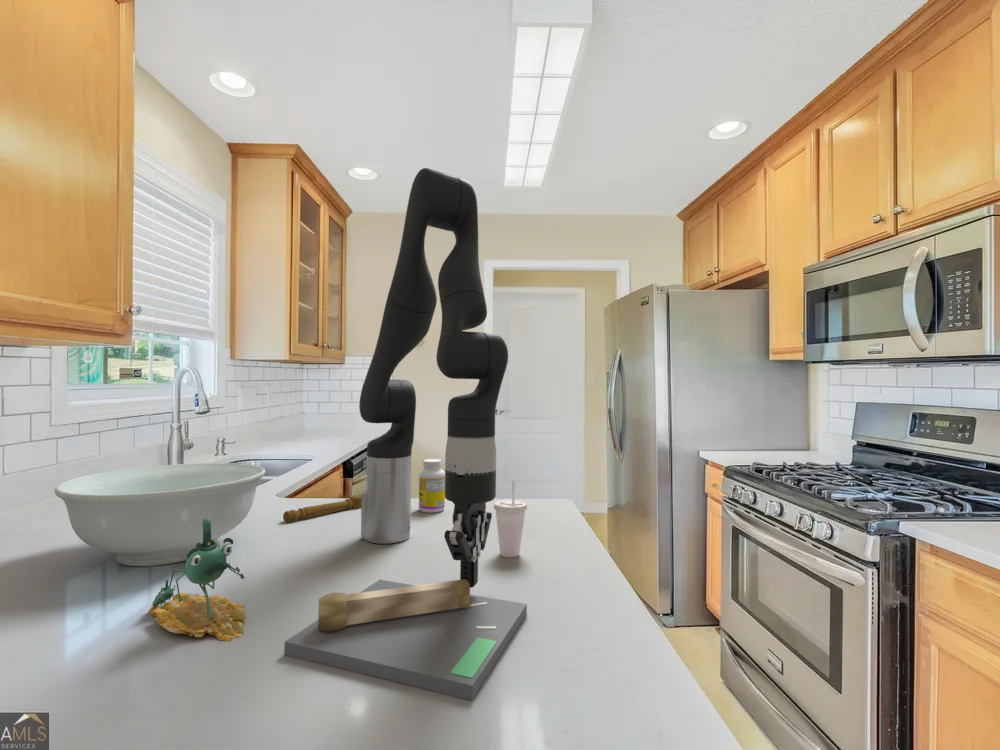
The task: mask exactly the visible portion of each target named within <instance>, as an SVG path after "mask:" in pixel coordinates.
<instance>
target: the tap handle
mask: <svg viewBox="0 0 1000 750" xmlns="http://www.w3.org/2000/svg"><path fill="white" fill-rule="evenodd" d="M361 508H362V493H359V494H356V495H355V494H354V495H351V496H349V498H346V499H345V500H342V501H335V502H330V503H323V504H318V505H310V506H304V507H302V508H301V507H300V508H298V509H297V510H296V509H290V510H286V511H284V513H283V515H282V518H283V522H284V524H291V523H295V522H297V521H298V520H299V521H304V520H309V519H314V518H317V517H322V516H325V515H329V514H332V513H336V512H339V511H340V512H341V511H344V510H347V511H348V510H359V509H361Z"/></svg>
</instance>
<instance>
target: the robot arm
mask: <svg viewBox="0 0 1000 750" xmlns="http://www.w3.org/2000/svg"><path fill="white" fill-rule="evenodd" d="M476 193H477V192H476V190H475V188H474V186H473V184H472V183H471V182H469V181H467V180H466V179H462V178H460V177H459V176H454V175H451V174H448V173H445V172H442V171H438V170H435V169H431V168H429V167H424V168H421V169H419V171H418V172H417V174H416V175H415V177H414V179H413V182H412V184H411V188H410V192H409V195H408V196H409V197H408V201H407V207H406V212H405V213H406V214H405V218H404V224H403V225H404V226H403V231H402V235H401V236H402V237H401V242H400V248H399V252H398V255H397V261H396V266H395V269H394V273H393V276H392V279H391V283H390V287H389V289H388V290H389V291H388V294H387V298H386V302H385V306H384V309H383V315H382V320H381V325H380V329H379V333H378V338H377V341H376V345H375V348H374V352H373V355H372V358H371V362H370V364H369V367H368V369H367V373H366V376H365V379H364V382H363V385H362V388H361V391H360V396H359V408H358V409H359V414H360V417H361V419H363V421H364V422H366V423H369V424H391V426H390V428H389V430H387V432H386V433H384V434H382V435H381V436H379V437H376V438H374V439H372V440H370V441H369V442H368V443H367V446H366V477H365V478H366V480H365V481H366V485H365V490H364V491H363V492H362V493H361V494H362V508H360V509H361V512H360V513H361V515H360V516H361V517H360V518H361V520H360V539H362V540H365V541H367V542H369V543H373V544H381V545H382V544H383V545H385V544H396V543H401V542H404V541H407V540H408V539H409V538H410V536H411V508H412V507H411V505H412V504H411V503H412V502H411V500H412V499H411V498H412V497H411V496H412V453H413V452H412V450H413V446H414V445H413V444H414V440H415V424H416V422H415V421H416V412H417V411H416V410H417V408H416V407H417V396H416V395H417V394H416V390H415V387H414V385H413V383H412V382H411V381H409V380H407V379H395V378H394V379H391V378H392V375H393V373H394V372H395V370H396V368H397V366H398V365H399V364H400V362H402V361H403V359H405V357H407V355H409V354H410V353H411V352H412V351H414V349H415V348H416V347H417V346H418V345H419V344H421V342H422V341H423V339H424V338H425V337H426V336H427V334H428V333H429V330H430V328H431V324H432V320H433V317H434V314H435V310H436V307H437V303H438V302H437V301H438V297H437V292H436V288H435V287H436V286H435V283H434V281H433V278H432V274H431V272H430V270H429V266H428V262H427V258H426V252H425V240H426V233H427V228H428V227H431V228H436V229H439V230H444V231H448V232H452V233H453V235H454V236H455V238H454V239H455V244H454V246H453V248H452V249H451V251H450V252H449V254H448V255H447V257H446V258H445V259H444V262H443V263H442V265H441V268H440V269H439V272H438V279H437V280H438V281H437V287H438V288H437V289H438V295H439V300H440V301H439V302H440V308H441V325H440V326H441V327H440V328H441V329H440V335H439V340H438V345H437V350H436V365H437V367H438V369H439V371H440V372H441V373H442V374H443V376H445V377H447V378H449V379H454V380H456V379H457V380H478V383H477V385H476V387H475V388H474V390H473V391H472V392H469V393H466V394H460V395H457V396H453V397H452V398H451V399H449V402H448V406H447V439H446V446H445V464H444V465H445V468H444V472H445V500H446V501H449V502H452V503H453V505H454V507H453V513H452V525H453V526H452V529H451V530H449V529H448V530H445V532H444V535H443V536H444V540H445V542H446V545H447V547H448V550H449V552H450V555H451V557H452V559H453V561H460V565H459V567H460V569H459V570H460V571H459V572H460V573H459V577H460V578H459V580H462V579H466V580H467V581H468V583H469V584H470V589H471V588H474V587H475V586H476V585H477V584H478V583H479V559H480V557H481V556H482V555H481V551H484V550H485V547H486V543H487V538H488V535H489V529H490V527H491V526H490V525H491V520H492V518H493V515H492V512H488V511H486V508H487V503H489V502H491V501H493V500H494V499H495V498H496V496H497V495H496V494H497V490H496V489H497V446H496V407H497V402H498V399H499V394H500V391H501V386H502V383H503V379H504V376H505V373H506V371H507V366H508V362H509V351H508V346H507V344H506V342H505V340H504V339H503V337H502V336H501V335H499V334H497V333H495V332H479V331H477V332H476V331H467V330H471V329H474V328H477V327H479V326H481V325H482V324H483V323H484V322H485V320H486V319H487V314H488V308H487V302H486V298H485V293H484V287H483V284H482V283H483V281H482V278H481V277H482V276H481V271H480V263H479V261H480V259H479V213H478V212H479V211H478V210H479V209H478V207H479V206H478V198H477V194H476Z"/></svg>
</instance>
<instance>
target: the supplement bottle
mask: <svg viewBox="0 0 1000 750" xmlns="http://www.w3.org/2000/svg"><path fill="white" fill-rule="evenodd" d="M422 465H423V469H422V470H421V471H420V472H419V476H418V477H419V478H418V509H419V511H420V512H421V513H428V514H431V513H432V514H433V513H434V514H435V513H441V512H442V511H444V510H445V508H446V507H445V506H446V505H445V504H446V498H445V470H443V469H442V459H437V458H427V459H424V460H422Z"/></svg>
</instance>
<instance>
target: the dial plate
mask: <svg viewBox="0 0 1000 750" xmlns="http://www.w3.org/2000/svg"><path fill="white" fill-rule="evenodd" d="M408 586H416V585H414V584H410V583H409V584H408V583H403V582H398V581H391V580H385V579H378V580H377V581H375V582H374V583H372V584H371V585H369V586H367V587H366V588H364V589H363V590H361V591H360V592H359V593H362V592H370V591H377V590H385V589H393V588H400V587H408ZM527 604H528V603H523V602H522V603H521V602H516V601H511V600H505V599H504V600H503V599H499V598H492V597H486V596H480V595H474V594H470V607H463V608H457V609H450V610H444V611H437V612H431V613H424V614H417V615H411V616H404V617H398V618H391V619H385V620H378V621H371V622H365V623H358V624H352V625H347V626H346V627H344V628H343V629H340V630H337V631H322V630H320V629H319V628H318V619H317V620H315V621H314V622H312V623H311V624H309V625H308V626H307V627H306V626H305V628H303V629H302V630H301V631H299V632H297V633H296V634H294V635H293V636H291V637H289V638H288V639H286V640H285V641H284V649H283V651H284V653H283V654H284V655H285V656H289V657H293V658H297V659H301V660H305V661H308V662H309V661H310V662H314V663H317V664H321V665H326V666H330V667H334V668H336V669H337V668H339V669H342V670H346V671H350V672H354V673H359V674H362V675H365V676H366V675H367V676H371V677H374V678H378V679H384V680H387V681H391V682H394V683H400V684H404V685H408V686H412V687H415V688H419V689H424V690H428V691H432V692H436V693H440V694H444V695H448V696H452V697H457V698H461V699H465V700H469V701H474V699H475V697H476V696H477V694H478V693H479V691H480V689H481V687H482V686H483V684H484V683H485V681H486V679H488V677H489V675H490V673H491V672H492V670H493V669H494V667H495V665H496V663H497V662H498V661H499V660H500V658H501V656H502V655H503V653H504V652H505V650H506V649H507V646H508V645H509V643H511V640H512V639H513V637H514V636H515V635H516V633H517V631H518V630H519V628H520V626H521V625H522V623H523V622H524V620H525V618H526V617H527V615H528V613H527V611H528V610H527V609H528V605H527Z"/></svg>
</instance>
